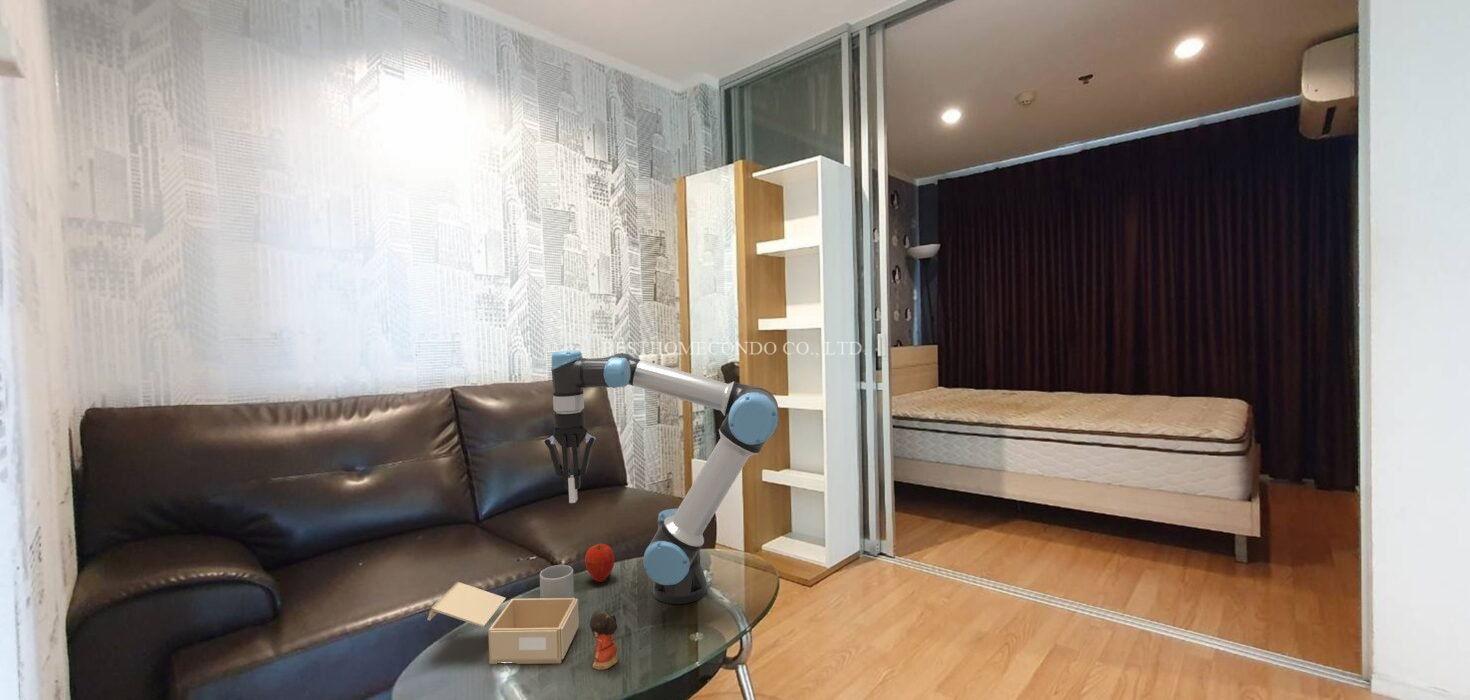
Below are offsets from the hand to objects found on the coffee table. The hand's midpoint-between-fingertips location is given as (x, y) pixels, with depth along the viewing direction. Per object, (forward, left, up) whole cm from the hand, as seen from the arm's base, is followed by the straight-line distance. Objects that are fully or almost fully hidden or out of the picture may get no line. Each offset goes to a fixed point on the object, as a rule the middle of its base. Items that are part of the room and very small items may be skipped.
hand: (573, 501), depth 151 cm
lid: (+21, +15, -19) cm, 32 cm away
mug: (+6, -2, -30) cm, 31 cm away
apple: (-2, -18, -30) cm, 35 cm away
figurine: (-12, +22, -30) cm, 39 cm away
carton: (+6, +15, -30) cm, 34 cm away
